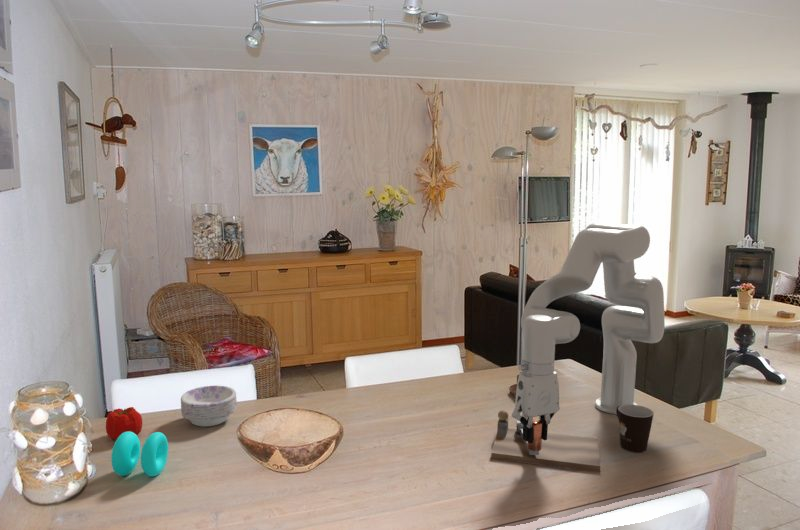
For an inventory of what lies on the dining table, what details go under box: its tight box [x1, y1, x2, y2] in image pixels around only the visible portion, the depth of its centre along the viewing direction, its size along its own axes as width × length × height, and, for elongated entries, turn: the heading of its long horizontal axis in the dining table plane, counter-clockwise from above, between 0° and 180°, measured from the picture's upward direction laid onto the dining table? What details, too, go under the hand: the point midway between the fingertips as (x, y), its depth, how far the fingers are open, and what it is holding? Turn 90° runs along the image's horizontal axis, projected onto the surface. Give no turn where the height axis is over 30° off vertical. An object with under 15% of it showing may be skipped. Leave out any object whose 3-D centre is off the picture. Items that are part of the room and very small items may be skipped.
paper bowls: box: [180, 384, 238, 428], centre depth 174 cm, size 15×15×8 cm
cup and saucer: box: [508, 374, 519, 397], centre depth 196 cm, size 12×12×6 cm
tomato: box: [105, 406, 143, 441], centre depth 163 cm, size 9×9×8 cm
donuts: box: [110, 431, 169, 477], centre depth 143 cm, size 10×10×10 cm
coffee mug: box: [616, 404, 655, 454], centre depth 160 cm, size 12×9×10 cm
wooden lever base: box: [490, 409, 602, 473], centre depth 156 cm, size 16×26×7 cm, turn 75°
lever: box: [515, 418, 542, 455], centre depth 155 cm, size 18×4×8 cm, turn 0°
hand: (534, 438), depth 148 cm, fingers closed on lever, 3 cm apart
